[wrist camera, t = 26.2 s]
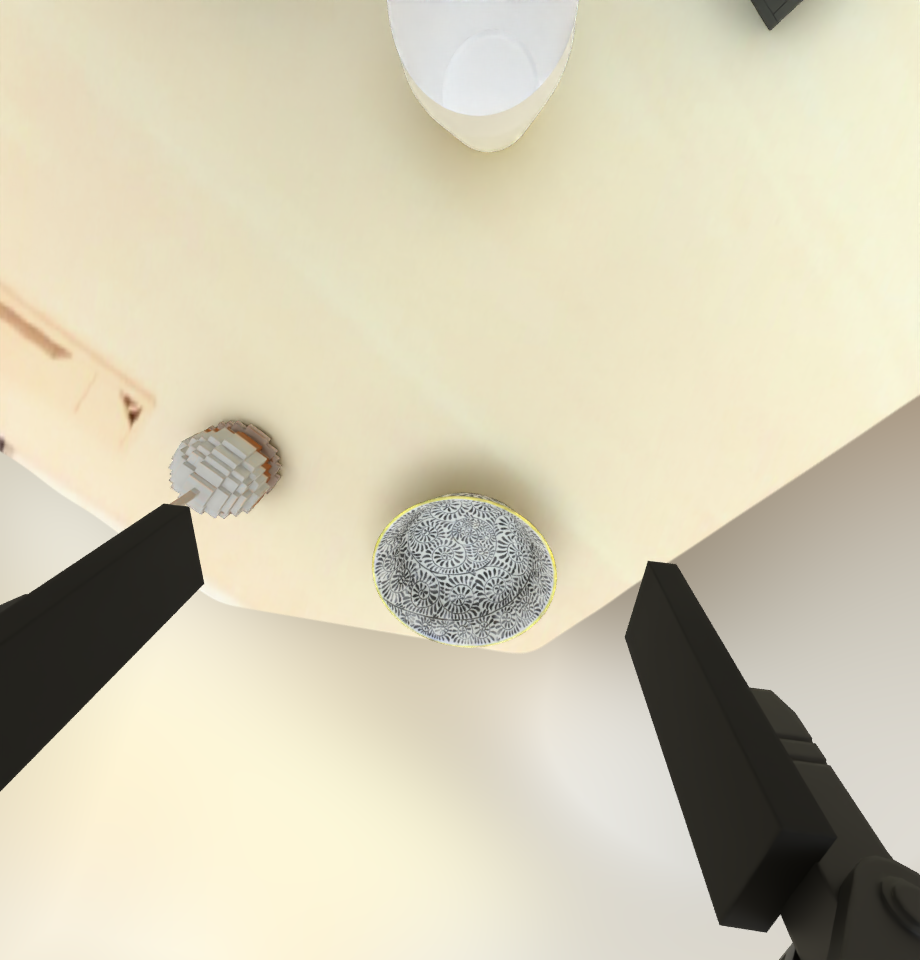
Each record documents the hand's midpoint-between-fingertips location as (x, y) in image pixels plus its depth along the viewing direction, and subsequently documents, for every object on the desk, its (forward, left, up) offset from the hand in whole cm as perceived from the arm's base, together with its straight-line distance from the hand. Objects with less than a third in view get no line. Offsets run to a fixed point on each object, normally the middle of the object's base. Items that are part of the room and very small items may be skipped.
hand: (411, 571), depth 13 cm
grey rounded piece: (-2, -24, -29) cm, 38 cm away
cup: (-17, +9, -29) cm, 35 cm away
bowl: (+14, -7, -29) cm, 33 cm away
